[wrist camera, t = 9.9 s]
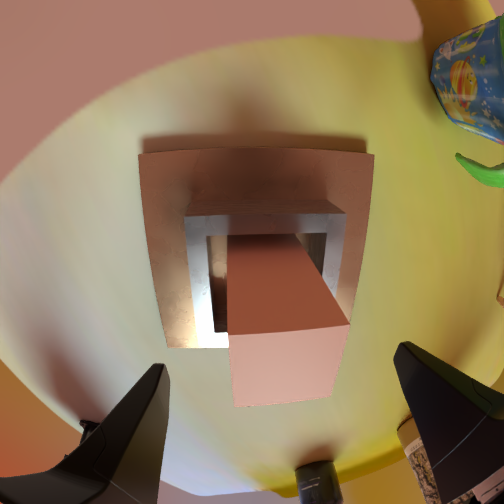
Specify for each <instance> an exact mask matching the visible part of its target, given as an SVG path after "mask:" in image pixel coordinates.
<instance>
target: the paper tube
mask: <svg viewBox="0 0 504 504" xmlns="http://www.w3.org/2000/svg"><path fill="white" fill-rule="evenodd" d="M397 435H398V438H399V440H400V442H401V444H402V446H403V449H404V451H405V454H406V456H407V458H408V460H409V463H410V465H411V467H412V469H413V472H414V474H415V476H416V479H417V481H418V483H419V486H420V488H421V491H422V493H423V496H424V498H425V501H426V503H427V504H442V503H441V500H440V496H439V493H438V489H437V486H436V482H435V479H434V476H433V473H432V469H431V466H430V463H429V460H428V457H427V454H426V451H425V448H424V445H423V443H422V440H421V437H420V434H419V432H418V429H417V426H416V424H415V421H414V419H413V417H412V418H411V419H409V420H408V421H406V422H405V423H404V424H403V425H402V426H401V427H400V428H399V430H398V432H397ZM472 495H474V492H473V490H472V489H471V490H470V491H468V492H467V493H465V494H463V495H462V496H460V497H459V498H457V499H455V500H453V501H452V502H450V503H448V504H463V502H464V501H465V500H467V499H468V498H470V497H471V496H472Z"/></svg>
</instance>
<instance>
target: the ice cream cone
mask: <svg viewBox="0 0 504 504" xmlns="http://www.w3.org/2000/svg"><path fill="white" fill-rule="evenodd" d="M497 301H498V302H499V304H500V305H501V306H502V307H503V308H504V298H502V297H500V296H498V297H497Z"/></svg>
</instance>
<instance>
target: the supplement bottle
mask: <svg viewBox="0 0 504 504" xmlns="http://www.w3.org/2000/svg"><path fill="white" fill-rule="evenodd" d="M295 476H296V482H297V488H298V493H299V499H300V504H343V502H344V501H343V496H342V492H341V489H340V485H339V481H338V477H337V473H336V470H335V466H334V464H333V463H332V462H330V461H321V462H315V463H311V464H308V465H305V466H302V467H300V468H299V469H297V471H296V472H295Z"/></svg>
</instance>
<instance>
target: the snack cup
mask: <svg viewBox="0 0 504 504" xmlns="http://www.w3.org/2000/svg"><path fill="white" fill-rule="evenodd" d="M430 79H431V81H432V82H433V84H434V86H435V89H436V92H437V95H438V97H439V100H440V102H441V104H442V106H443V108H444V110H445V111H446V113H447V115H448V118H449V119H450V120H451V121H452V122H454V123H455V124H457V125H459V126H460V127H462V128H463V129H465V130H467V131H469V132H472V133H474V134H477V135H481V136H483V137H485V138H487V139H490V140H492V141H495V142H497V143H499V144H502V145H504V13H503V14H502V16H498V17H496V18H495V20H491V21H489V22H487V23H485V24H481V25H479V26H477V27H474V28H472V29H470V30H468V31H466V32H464V33H462V34H460V35H458V36H456V37H454V38H452V39H449V40H447V41H446V42H444V43H443V44H441V45H440V46H439V48H438V49H436V51H435V52H434V57H433V67H432V71H431V76H430ZM455 157H456V159H457V161H458V162H459V163H460V164H461V165H462V166H463V167H464V168H465V169H466V170H467V171H468V172H469V173H470V174H471V175H472V176H473V177H474V178H475V179H477V180H478V181H479V182H481V183H483V184H485V185H488V186H492V187H499V188H504V163H501V164H500V165H496V166H494V167H491V168H489V167H486V166H484V165H482V164H480V163H478V162H475V161H473V160H471V159H468V158H466V157H464V156H462V155H461V154H460V153H456V155H455Z"/></svg>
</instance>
